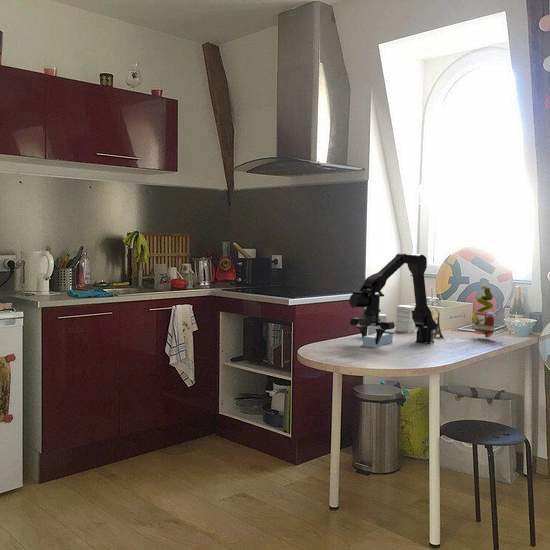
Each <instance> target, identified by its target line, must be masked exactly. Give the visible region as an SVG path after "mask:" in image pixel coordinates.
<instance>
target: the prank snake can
mask: <svg viewBox="0 0 550 550" xmlns="http://www.w3.org/2000/svg"><path fill="white" fill-rule="evenodd" d="M480 289H481V290H484V291H483V292H484V295H478V296H477V297H476V301H477V302H478V303H479V304H481V305H483V306H482V307H479V308H477V309H475V310H474V311H473V312H472V314H471V320H472V322H473V323H474V326H473V327H474V334H477V335H485V336H484V337H485V338H491V336H493V335H494V330H495V325H494V324H495V317H493V316H492V315H490V314H487V313H488V312H487V310H490V309H492V308H494V304H493V303H492V302H490V301H491V300H493V298H494V296H493V294H492V293H491V289H490V287H488V285H483V284H482V285H481V286H480Z"/></svg>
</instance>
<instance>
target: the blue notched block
mask: <svg viewBox="0 0 550 550" xmlns="http://www.w3.org/2000/svg"><path fill="white" fill-rule="evenodd" d="M376 334H377V333H376ZM376 334H372V335H370V336H376ZM395 334H396V331H393V330H386V331H385V332H384V333H383V335H382V337H381V339H380V341H379V346H378V347H380V346H383V345H387V344H391V343H393V340H394V339H393V336H394V335H395Z"/></svg>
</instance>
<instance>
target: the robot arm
mask: <svg viewBox="0 0 550 550" xmlns="http://www.w3.org/2000/svg"><path fill="white" fill-rule="evenodd" d="M427 260H428V259H427V256H425V255H424V254H419V253H418V254H417V253H411V254H407V253H400V252H399V253H397V254H396V255H395V256H394V257H393V258H392V259H391V260H390V261H389V262H388V263H387V264H386V265H385V266H384V267H382V269H380V270H379V271H378V272H376V273H373V274H371V275H370V276H368V277H366V278H365V280H364V283H363V285H362V286H361V288H360V289H359V291H356V290H355V291H352V294H351V295H350V297H349V299H348V300H349V305H350V307H351V308H352V309H356V308H357V309H358V308H360V309H361V308H364V310H363V313H362V314H361V315H360V316H358V317H351V318H350V320H349V323H348V324H349V325H350V326H355V328H357V329H358V330H359V332H360V335H361V337H362V339H363V337H364V336H368V326H370V325H371V326H378V329H376V332H377V334H376V345H377V344H378V343H379V341H380V339H381V337H382V335H383V333H384V332H385V330H386V331H391V330H393V329H396V323H395V322H393V321H388V320H386V321H384V322H380V319H379V314H380V313H381V311H382V310H381V309H380V303H381V302H380V300H381V297H385V294H384V293H383V292H382V289H383V288H384V287H385V286H386V284H387V281H388V280H389V278H390V277H391V276H393V275H394V274H395V273H396V272H397V271H398V270H399V269H400V268H401V267H402V266H403V265H404V264H405V265H406V264H407V268H408V270H409V272H410V273H411V275H412V282H413V283H412V284H413V291H414V292H413V293H414V301H415V306H416V307H415V309H414V310H412V319H413V321H414V322H415V328H417V331H416V334H415V335H416V340H415V342H416V343H423V344H432V343H435V340H434V339H433V333H434V331H435V329H436V328H437V321H436V320H434V318H433V314H432V311H431V309H430V308H429V306H428V301H427V292H426V291H427V290H426V281H425V280H426V279H425V272H426V271H427V265H428V261H427Z"/></svg>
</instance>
